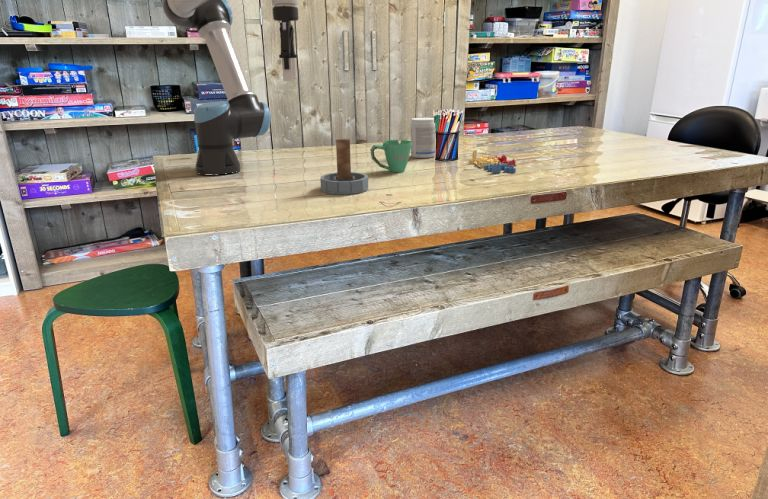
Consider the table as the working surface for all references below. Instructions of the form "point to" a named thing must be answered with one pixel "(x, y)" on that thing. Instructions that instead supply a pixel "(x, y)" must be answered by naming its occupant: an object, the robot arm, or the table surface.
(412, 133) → the supplement tub
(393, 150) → the mug
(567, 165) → the table surface
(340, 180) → the clip
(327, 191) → the grey ridged lid
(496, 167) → the toy parts cluster
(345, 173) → the brown wooden block
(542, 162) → the table surface
